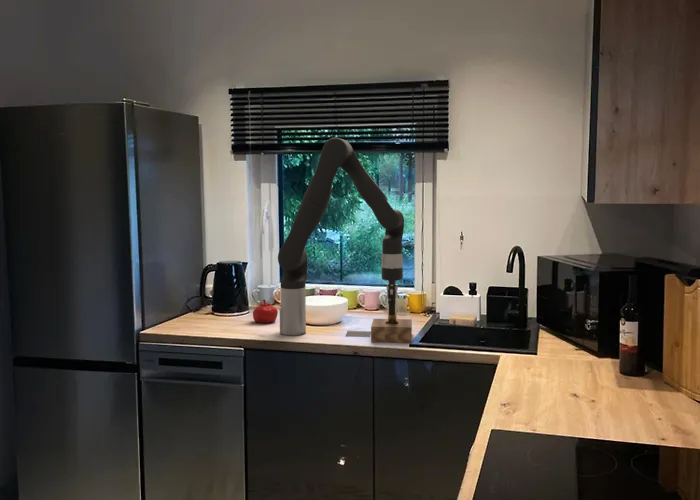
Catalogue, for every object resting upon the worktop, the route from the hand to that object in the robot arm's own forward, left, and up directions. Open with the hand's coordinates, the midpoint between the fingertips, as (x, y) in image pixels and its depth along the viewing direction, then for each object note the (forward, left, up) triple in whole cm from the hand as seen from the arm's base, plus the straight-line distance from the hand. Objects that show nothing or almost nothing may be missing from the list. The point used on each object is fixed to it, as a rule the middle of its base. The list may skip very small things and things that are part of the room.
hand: (392, 314), depth 238 cm
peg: (0, 0, -3) cm, 3 cm away
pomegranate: (-52, +26, -10) cm, 59 cm away
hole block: (0, 0, -9) cm, 9 cm away
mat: (-13, +6, -9) cm, 17 cm away
